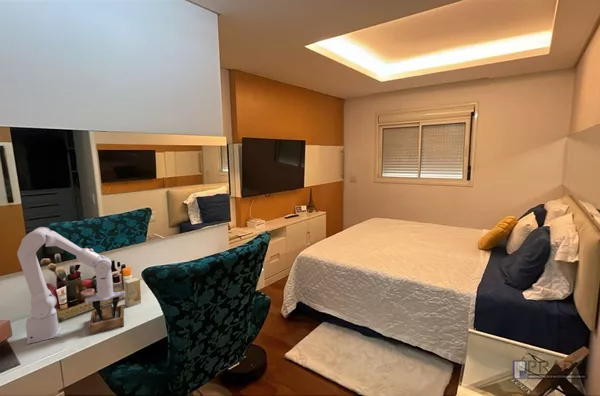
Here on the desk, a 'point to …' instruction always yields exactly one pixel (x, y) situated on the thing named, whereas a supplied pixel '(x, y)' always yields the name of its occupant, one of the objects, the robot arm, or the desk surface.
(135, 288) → the skincare box
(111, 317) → the maple peg
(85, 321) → the desk surface
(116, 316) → the socket box
